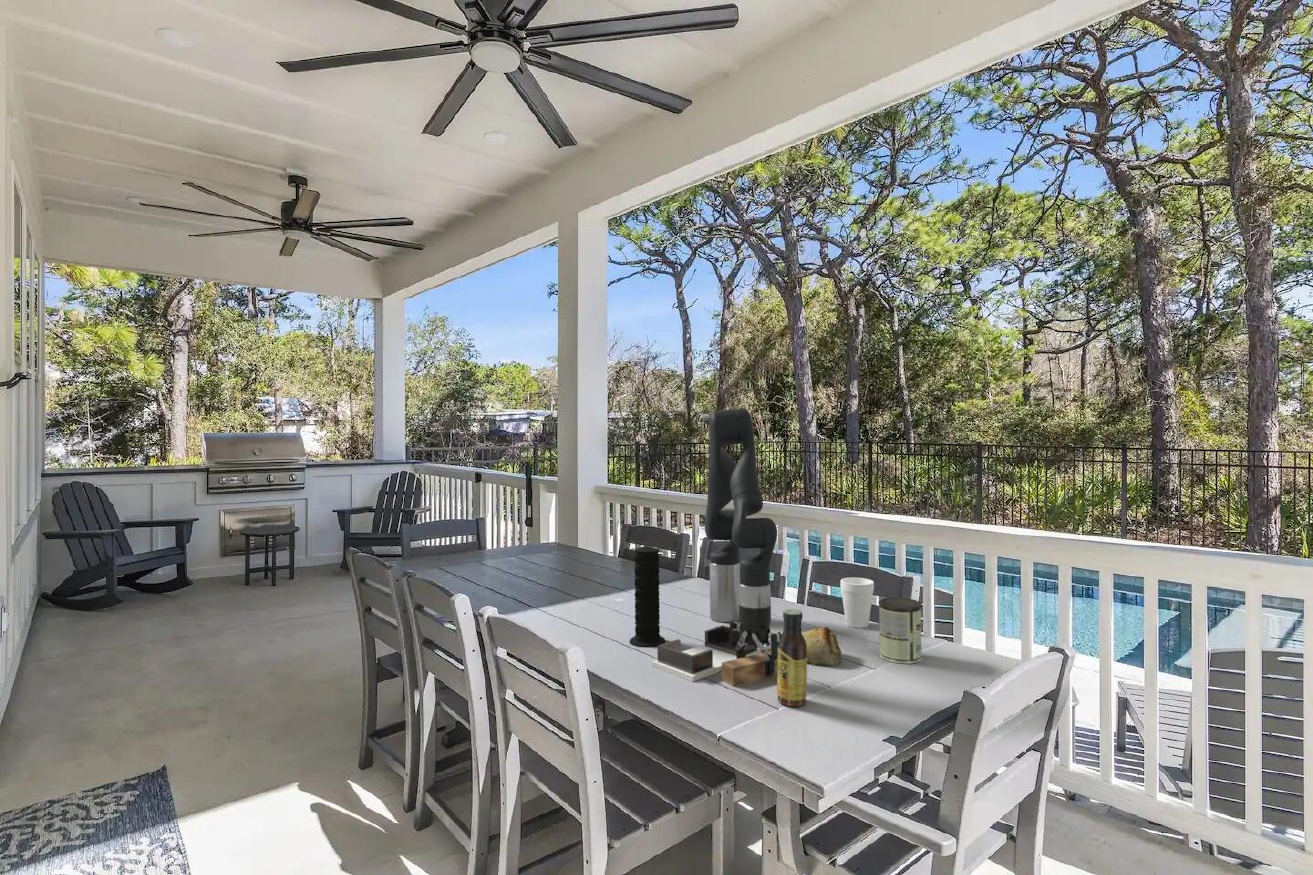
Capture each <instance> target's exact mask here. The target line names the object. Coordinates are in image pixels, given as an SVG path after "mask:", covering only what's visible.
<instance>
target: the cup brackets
mask: <svg viewBox="0 0 1313 875" xmlns="http://www.w3.org/2000/svg"><path fill="white" fill-rule="evenodd" d="M729 634H730V626H726V625H723V624H722V625H719V626H716V627H713V628H710V629H706V630H704V644H705V646H707V647H710V648H713V649H716V650H719V651H722V652H726V653H729V654H732V655H735V656H736V650H735V648H733V647H730V645H729ZM741 636H742V633H741V631H740V638H741ZM734 641H735V638H734ZM757 649H758V648H757V647H754V646H753V645H747V646H746V648H745V649H744V650H745V651H746V655H747V654H750V653H752V652H755V651H757ZM657 660H658V662H660V663H663V664H666V665H668V666H671V667H674V668H676V669H679V670H682V671H684V672H687V673H690V674H695V673H698V672H700V671H703V670H706V669H709V668H711V667H713V651H712V650H707V651H704V652H701V653H698V654H695V655H689V654H687V653H684V652H682V647H681V639H678V638H677V639H675V640H671V641H668V642H665V643H664V644H661V645H657Z"/></svg>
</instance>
